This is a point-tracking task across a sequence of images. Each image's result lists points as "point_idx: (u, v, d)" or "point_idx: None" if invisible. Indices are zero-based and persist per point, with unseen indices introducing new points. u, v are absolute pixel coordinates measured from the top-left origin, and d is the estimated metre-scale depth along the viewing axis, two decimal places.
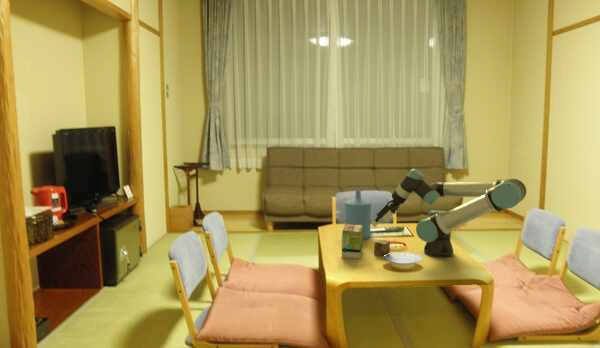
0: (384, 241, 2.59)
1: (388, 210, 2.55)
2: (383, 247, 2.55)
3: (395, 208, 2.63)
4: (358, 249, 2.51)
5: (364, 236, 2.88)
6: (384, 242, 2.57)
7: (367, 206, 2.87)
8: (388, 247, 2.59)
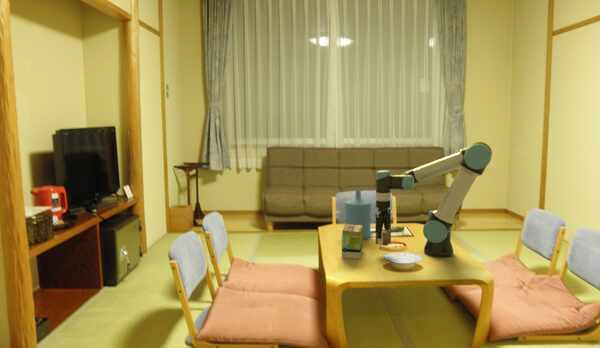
0: (385, 230, 2.58)
1: (382, 221, 2.54)
2: (384, 236, 2.54)
3: (387, 220, 2.59)
4: (358, 249, 2.51)
5: (364, 236, 2.88)
6: (385, 231, 2.56)
7: (367, 206, 2.87)
8: (389, 236, 2.58)
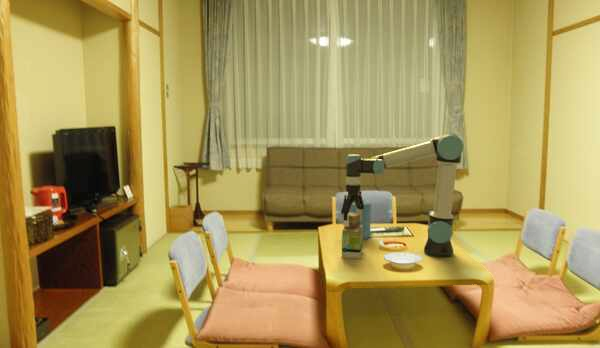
0: (354, 214, 2.57)
1: (350, 204, 2.51)
2: (353, 219, 2.54)
3: (359, 202, 2.59)
4: (358, 249, 2.51)
5: (364, 236, 2.88)
6: (354, 215, 2.55)
7: (367, 206, 2.87)
8: (358, 220, 2.57)
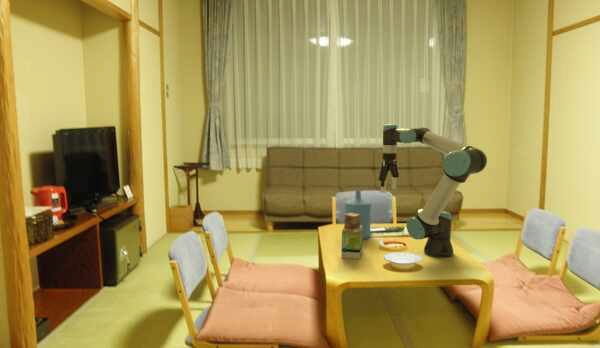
0: (354, 214, 2.57)
1: (387, 171, 2.63)
2: (353, 220, 2.53)
3: (394, 170, 2.71)
4: (358, 249, 2.51)
5: (364, 236, 2.88)
6: (354, 215, 2.55)
7: (367, 206, 2.87)
8: (358, 220, 2.57)
